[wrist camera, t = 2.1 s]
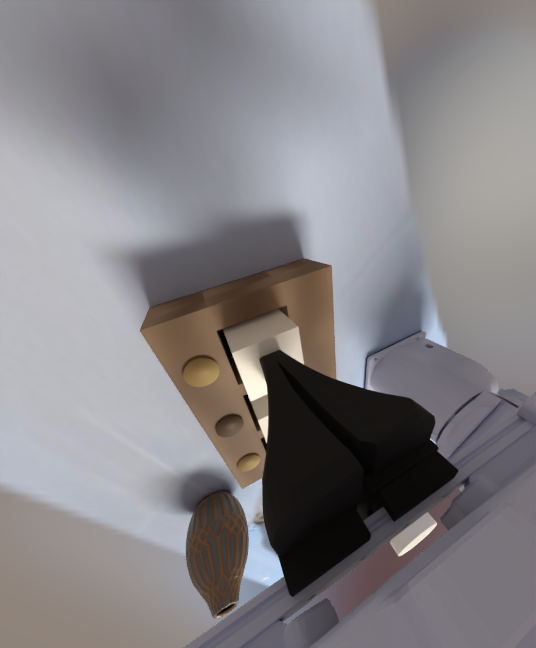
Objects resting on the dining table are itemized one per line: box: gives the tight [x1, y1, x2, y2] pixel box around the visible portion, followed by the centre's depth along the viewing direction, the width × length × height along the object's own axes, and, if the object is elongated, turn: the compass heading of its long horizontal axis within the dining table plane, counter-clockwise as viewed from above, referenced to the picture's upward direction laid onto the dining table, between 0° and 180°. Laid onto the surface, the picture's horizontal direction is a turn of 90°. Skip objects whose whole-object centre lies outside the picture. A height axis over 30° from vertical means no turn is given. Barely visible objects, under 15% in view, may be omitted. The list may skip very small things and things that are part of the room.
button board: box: [140, 259, 336, 489], centre depth 18 cm, size 12×20×4 cm, turn 13°
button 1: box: [223, 309, 304, 402], centre depth 13 cm, size 4×4×4 cm
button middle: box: [251, 394, 268, 443], centre depth 16 cm, size 4×4×4 cm
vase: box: [186, 491, 249, 618], centre depth 22 cm, size 7×7×9 cm
